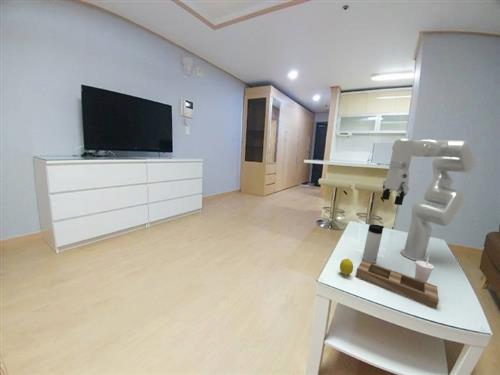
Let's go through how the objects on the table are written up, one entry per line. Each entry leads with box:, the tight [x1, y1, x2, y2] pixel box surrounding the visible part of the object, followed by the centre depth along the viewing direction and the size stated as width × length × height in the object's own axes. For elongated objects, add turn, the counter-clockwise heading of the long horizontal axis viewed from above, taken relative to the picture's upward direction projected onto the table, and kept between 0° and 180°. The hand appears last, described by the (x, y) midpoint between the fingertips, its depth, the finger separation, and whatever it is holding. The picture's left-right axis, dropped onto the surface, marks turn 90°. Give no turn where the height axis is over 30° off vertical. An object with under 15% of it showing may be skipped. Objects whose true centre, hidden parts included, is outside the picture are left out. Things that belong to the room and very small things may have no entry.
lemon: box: [339, 258, 354, 276], centre depth 97 cm, size 6×6×8 cm
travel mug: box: [361, 223, 385, 265], centre depth 110 cm, size 6×7×20 cm
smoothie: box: [414, 254, 435, 283], centre depth 94 cm, size 6×6×14 cm
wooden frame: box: [355, 259, 440, 310], centre depth 92 cm, size 11×28×4 cm, turn 51°
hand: (391, 201), depth 102 cm, fingers open, 9 cm apart
